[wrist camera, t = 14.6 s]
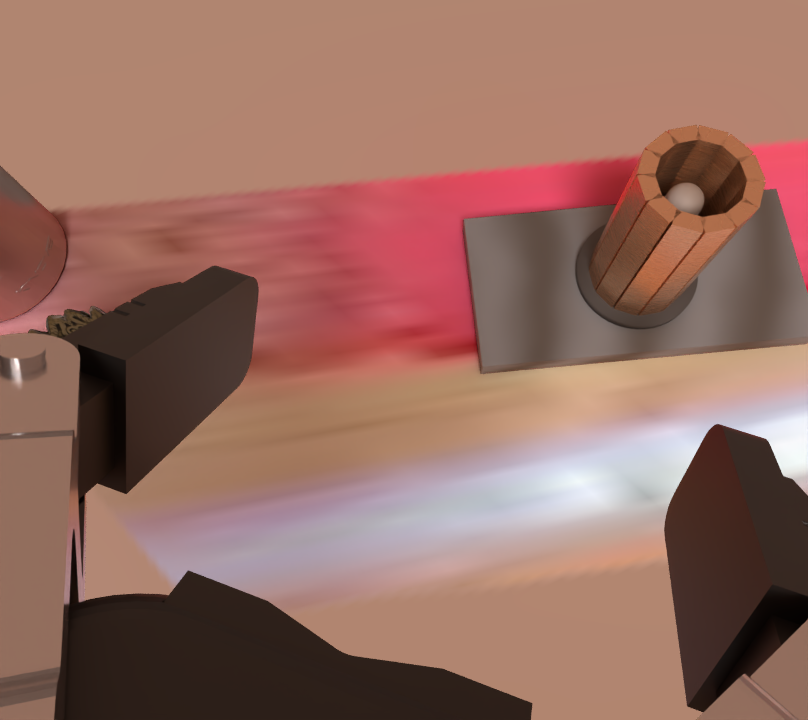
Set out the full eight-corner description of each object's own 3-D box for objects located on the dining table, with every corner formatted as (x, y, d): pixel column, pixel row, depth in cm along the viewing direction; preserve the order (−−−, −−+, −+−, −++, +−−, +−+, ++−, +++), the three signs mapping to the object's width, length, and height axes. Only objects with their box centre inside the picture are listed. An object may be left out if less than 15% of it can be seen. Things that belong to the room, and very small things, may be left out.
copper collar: (579, 298, 39) (625, 211, 30) (603, 220, 41) (655, 113, 31) (671, 326, 38) (750, 246, 29) (693, 246, 40) (774, 144, 30)
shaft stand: (480, 373, 40) (496, 306, 30) (463, 230, 43) (471, 124, 33) (806, 343, 40) (935, 265, 29) (764, 201, 43) (869, 85, 33)
